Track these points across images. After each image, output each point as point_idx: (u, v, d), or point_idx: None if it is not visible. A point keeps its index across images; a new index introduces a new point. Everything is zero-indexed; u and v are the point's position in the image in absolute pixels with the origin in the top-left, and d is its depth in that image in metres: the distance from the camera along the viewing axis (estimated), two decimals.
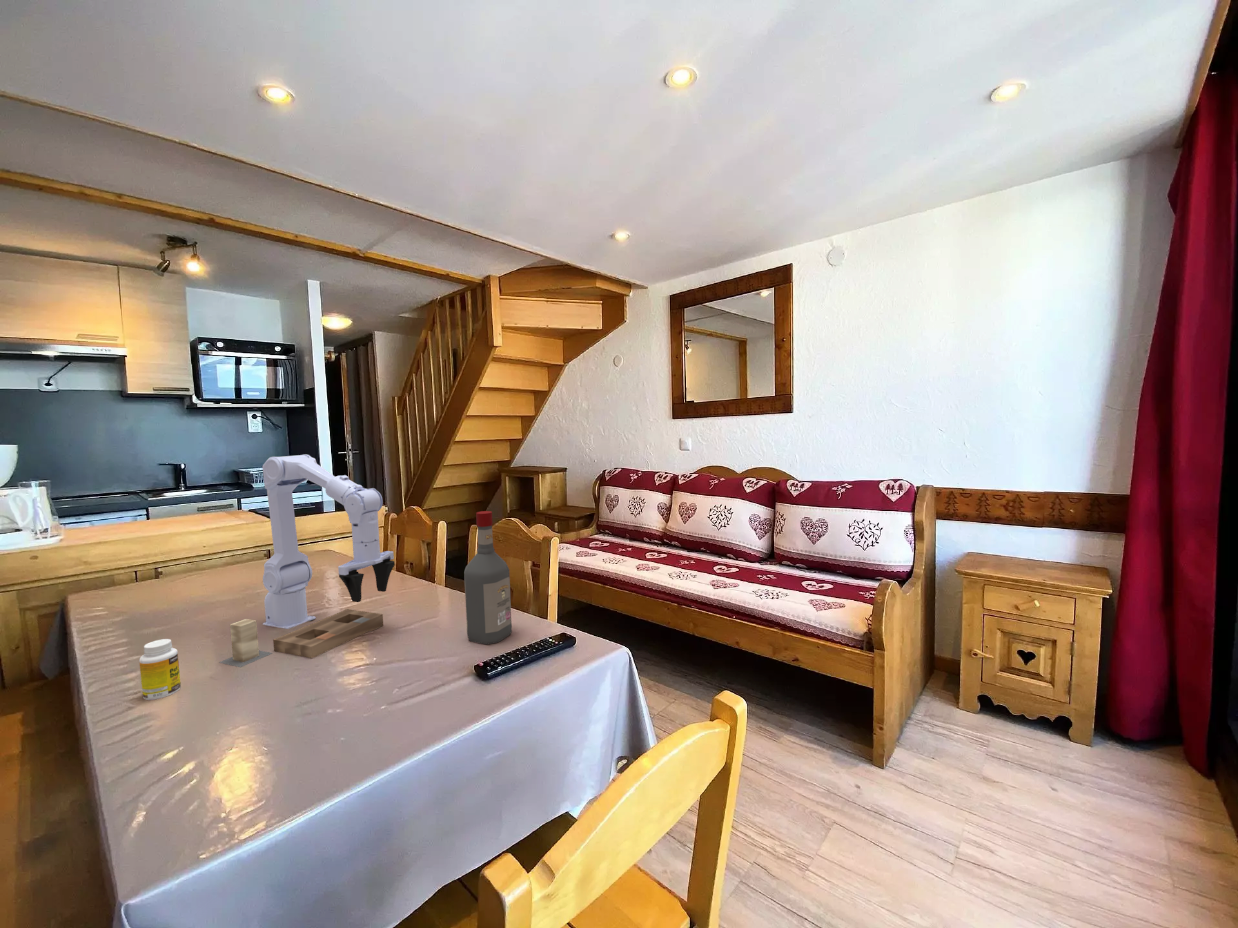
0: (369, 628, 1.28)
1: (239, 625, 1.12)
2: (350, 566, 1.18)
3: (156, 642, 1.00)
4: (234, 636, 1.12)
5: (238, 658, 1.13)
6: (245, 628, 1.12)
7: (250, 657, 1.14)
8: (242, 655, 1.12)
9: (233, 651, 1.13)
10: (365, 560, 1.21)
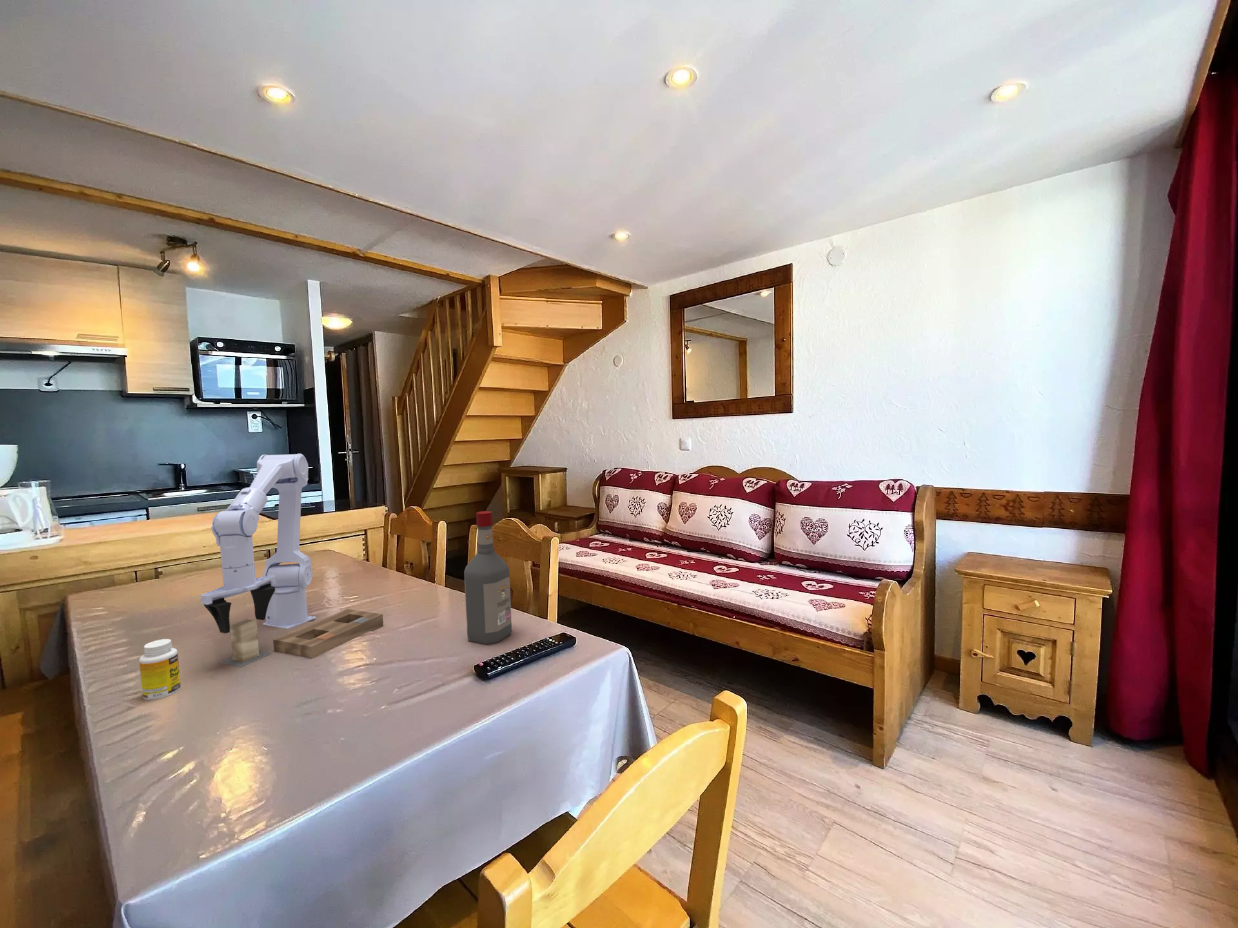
0: (369, 628, 1.28)
1: (239, 625, 1.12)
2: (214, 594, 1.07)
3: (156, 642, 1.00)
4: (234, 636, 1.12)
5: (238, 658, 1.13)
6: (245, 628, 1.12)
7: (250, 657, 1.14)
8: (242, 655, 1.12)
9: (233, 651, 1.13)
10: (234, 587, 1.10)
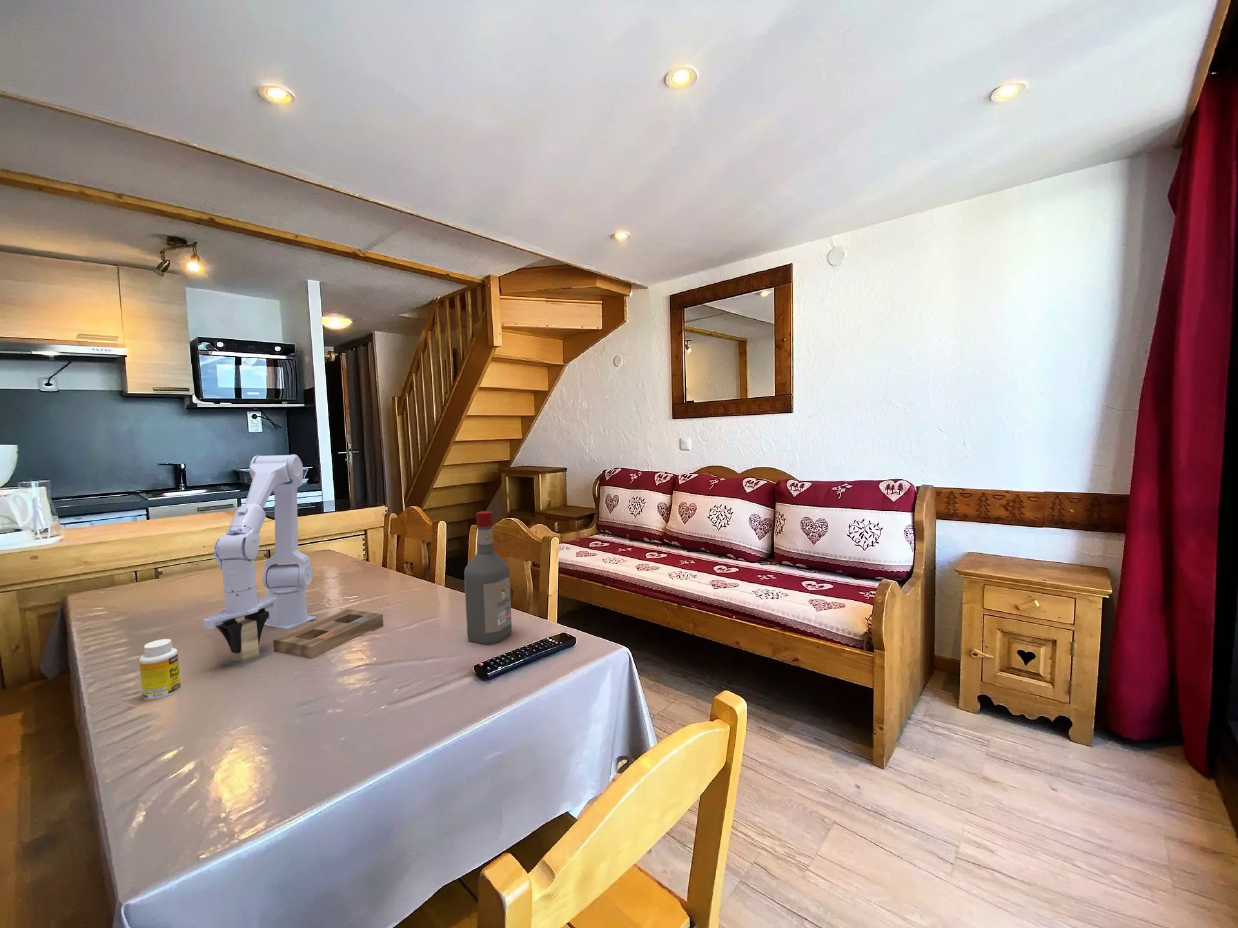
0: (369, 628, 1.28)
1: None
2: (216, 619, 1.08)
3: (156, 642, 1.00)
4: None
5: (238, 658, 1.13)
6: (245, 628, 1.12)
7: (250, 657, 1.14)
8: (242, 655, 1.12)
9: None
10: (237, 611, 1.11)
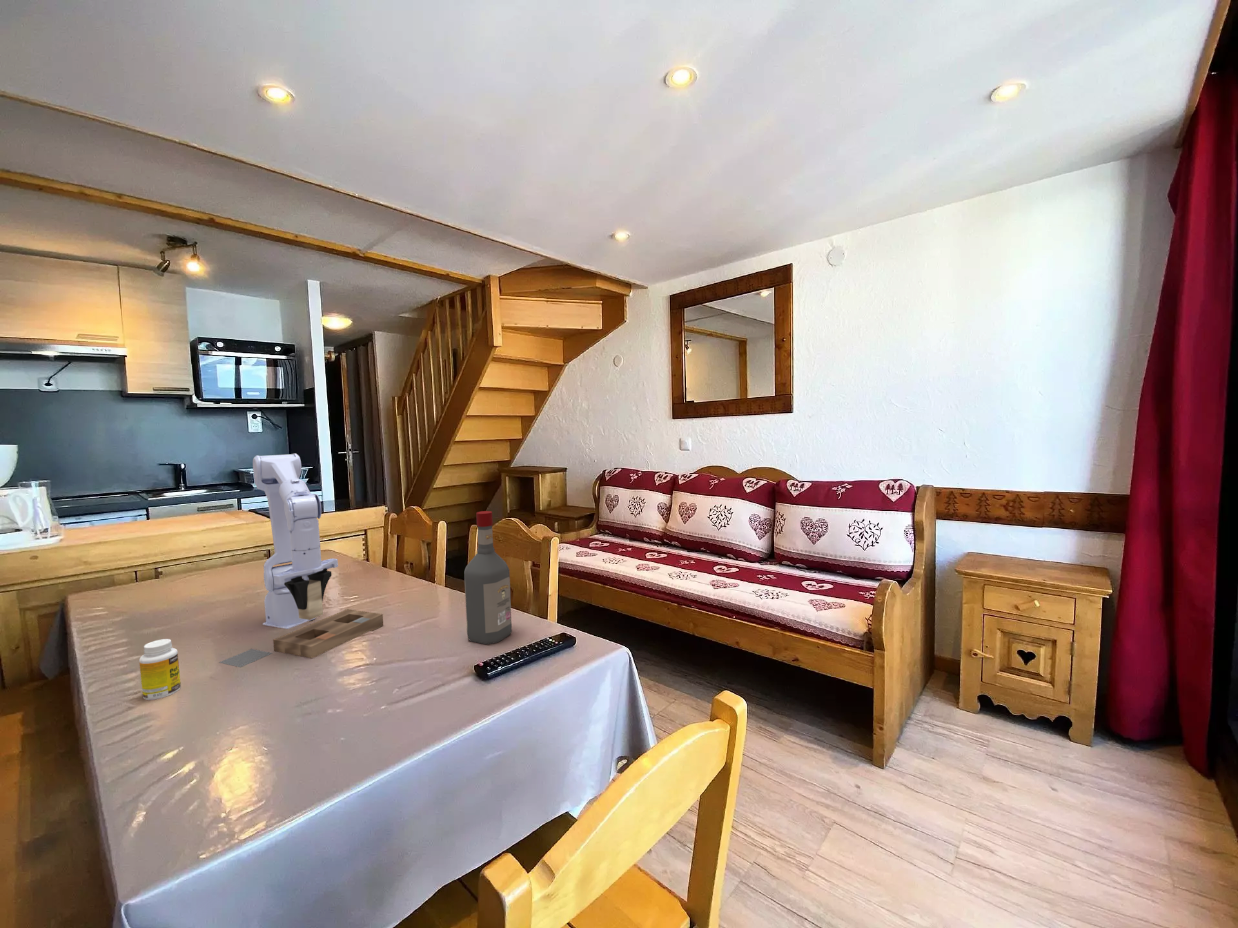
0: (369, 628, 1.28)
1: None
2: (286, 575, 1.13)
3: (156, 642, 1.00)
4: None
5: (304, 616, 1.18)
6: (311, 587, 1.18)
7: (315, 615, 1.19)
8: (308, 613, 1.17)
9: (299, 610, 1.18)
10: (304, 569, 1.16)
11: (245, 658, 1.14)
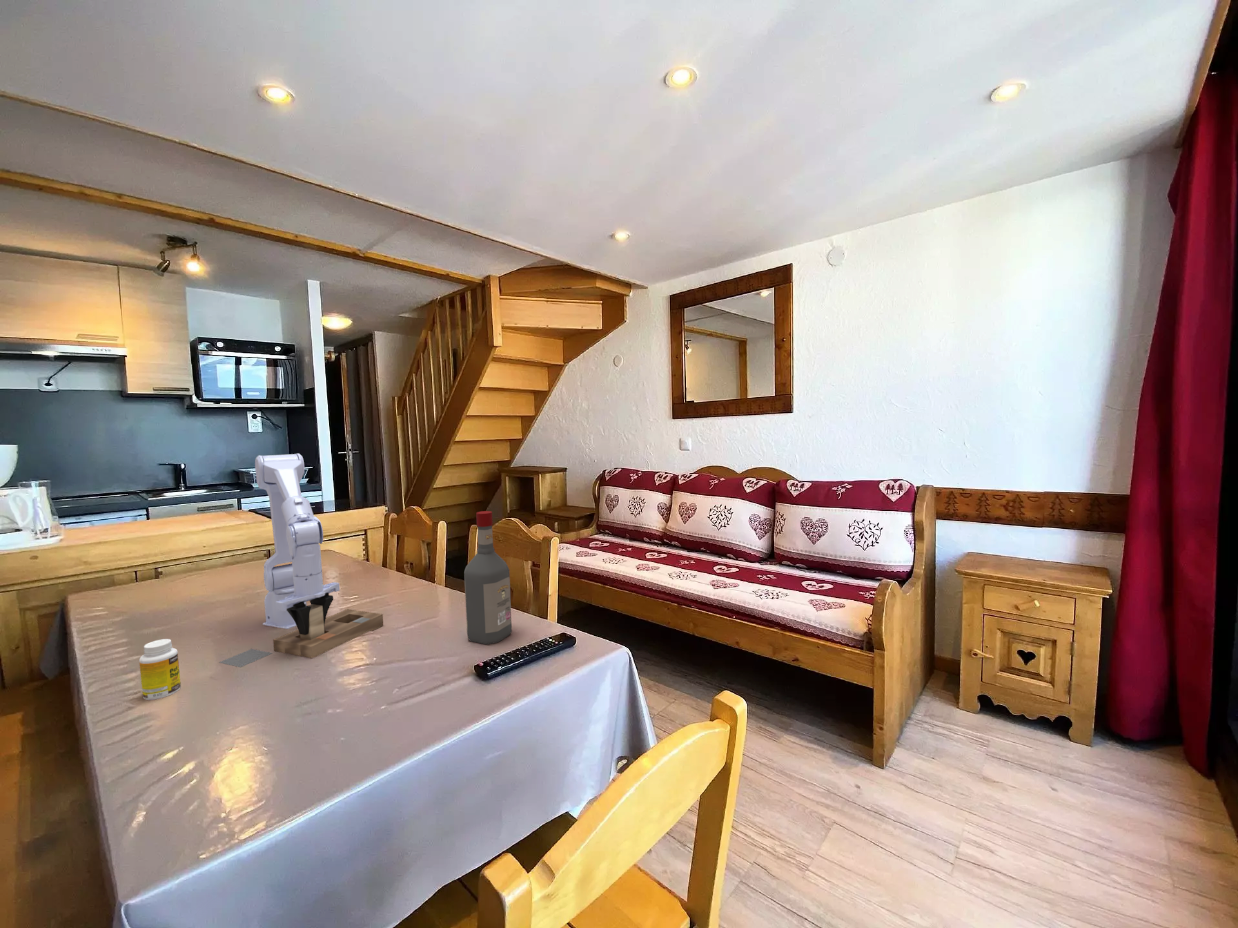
0: (369, 628, 1.28)
1: None
2: (288, 601, 1.13)
3: (156, 642, 1.00)
4: None
5: None
6: (313, 612, 1.18)
7: None
8: (310, 638, 1.18)
9: (301, 634, 1.19)
10: (305, 594, 1.16)
11: (245, 658, 1.14)
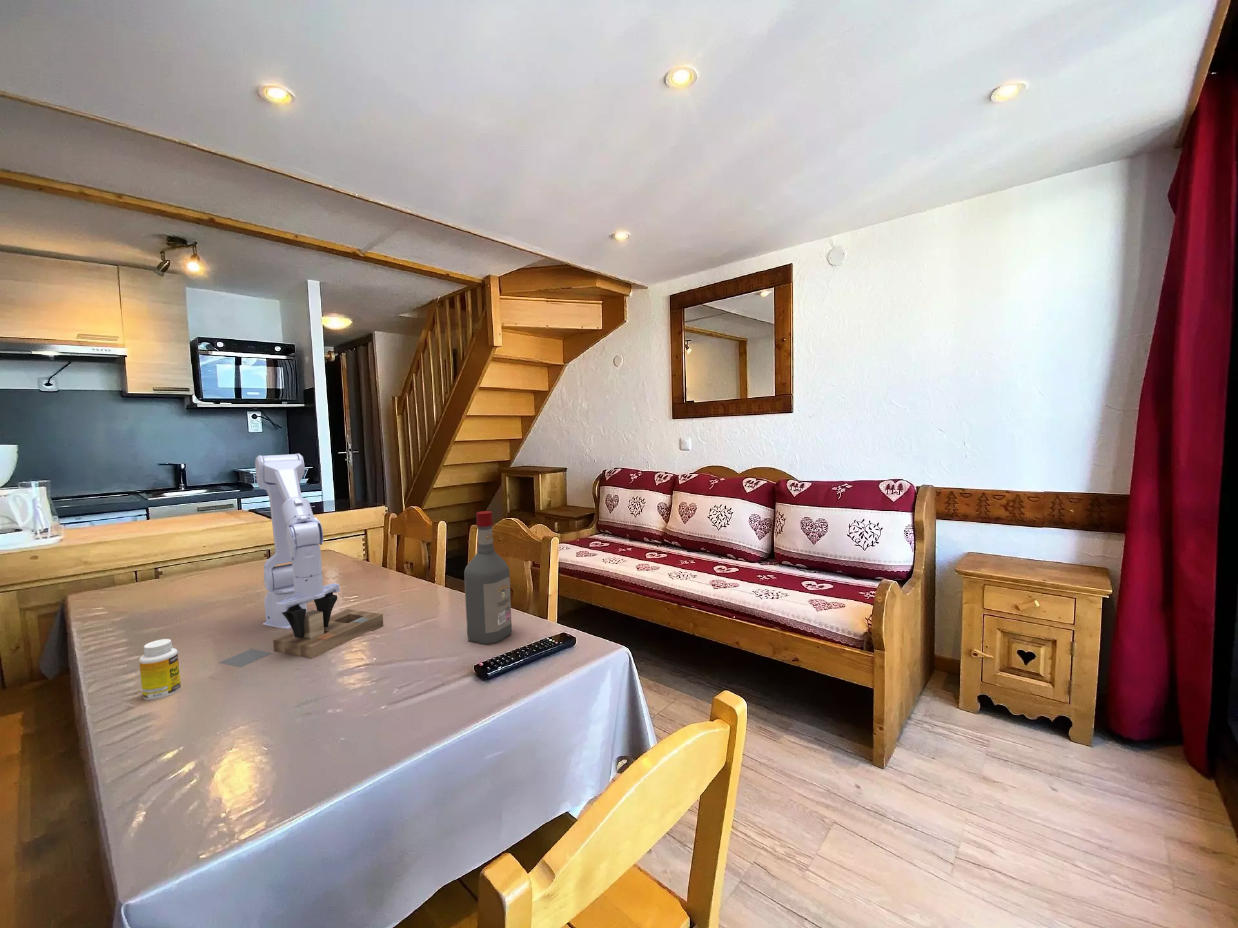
0: (369, 628, 1.28)
1: (307, 616, 1.18)
2: (288, 603, 1.13)
3: (156, 642, 1.00)
4: None
5: None
6: (313, 618, 1.18)
7: None
8: None
9: None
10: (306, 595, 1.16)
11: (245, 658, 1.14)
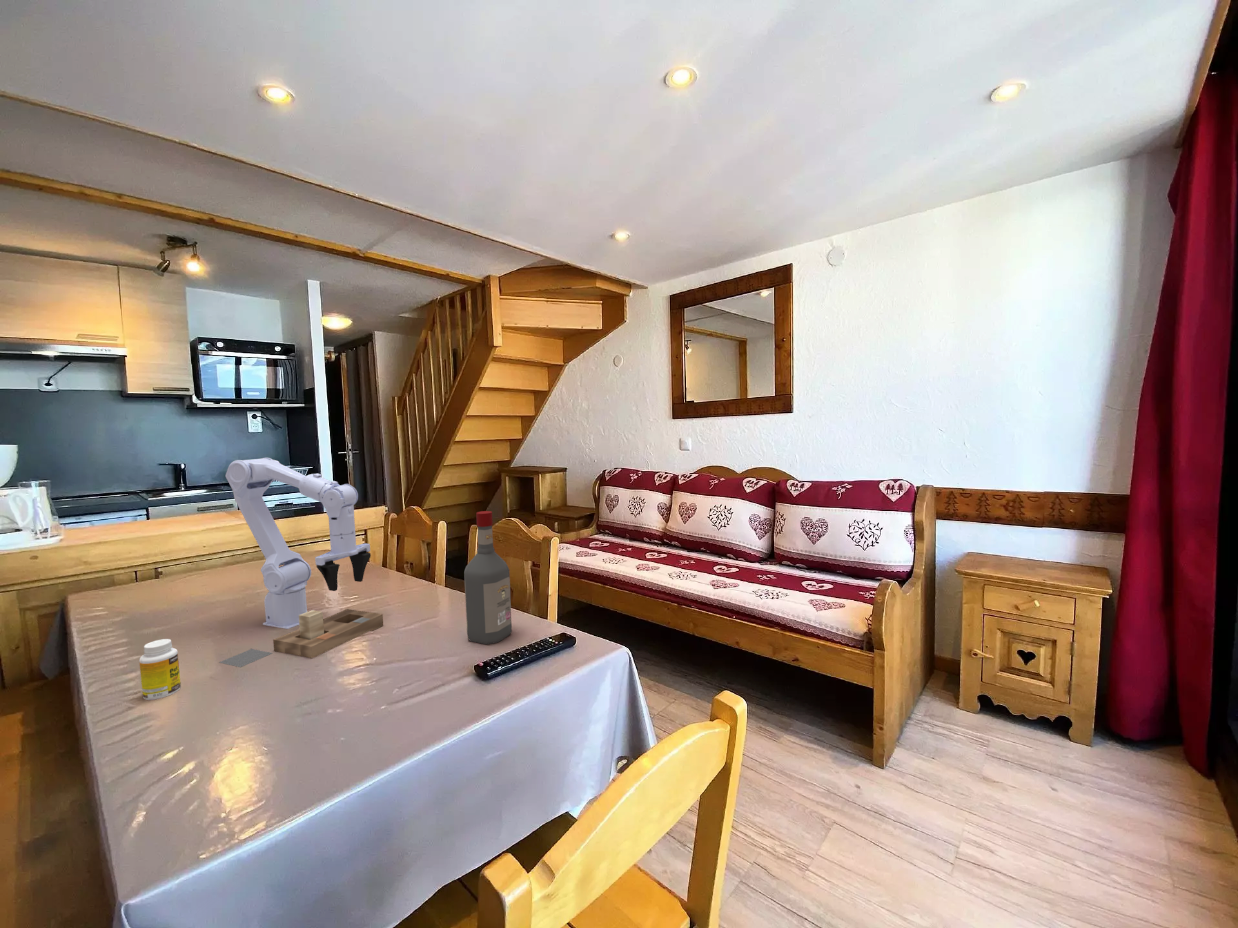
0: (369, 628, 1.28)
1: (307, 616, 1.18)
2: (326, 557, 1.25)
3: (156, 642, 1.00)
4: (302, 626, 1.18)
5: None
6: (313, 618, 1.18)
7: None
8: None
9: None
10: (341, 551, 1.28)
11: (245, 658, 1.14)
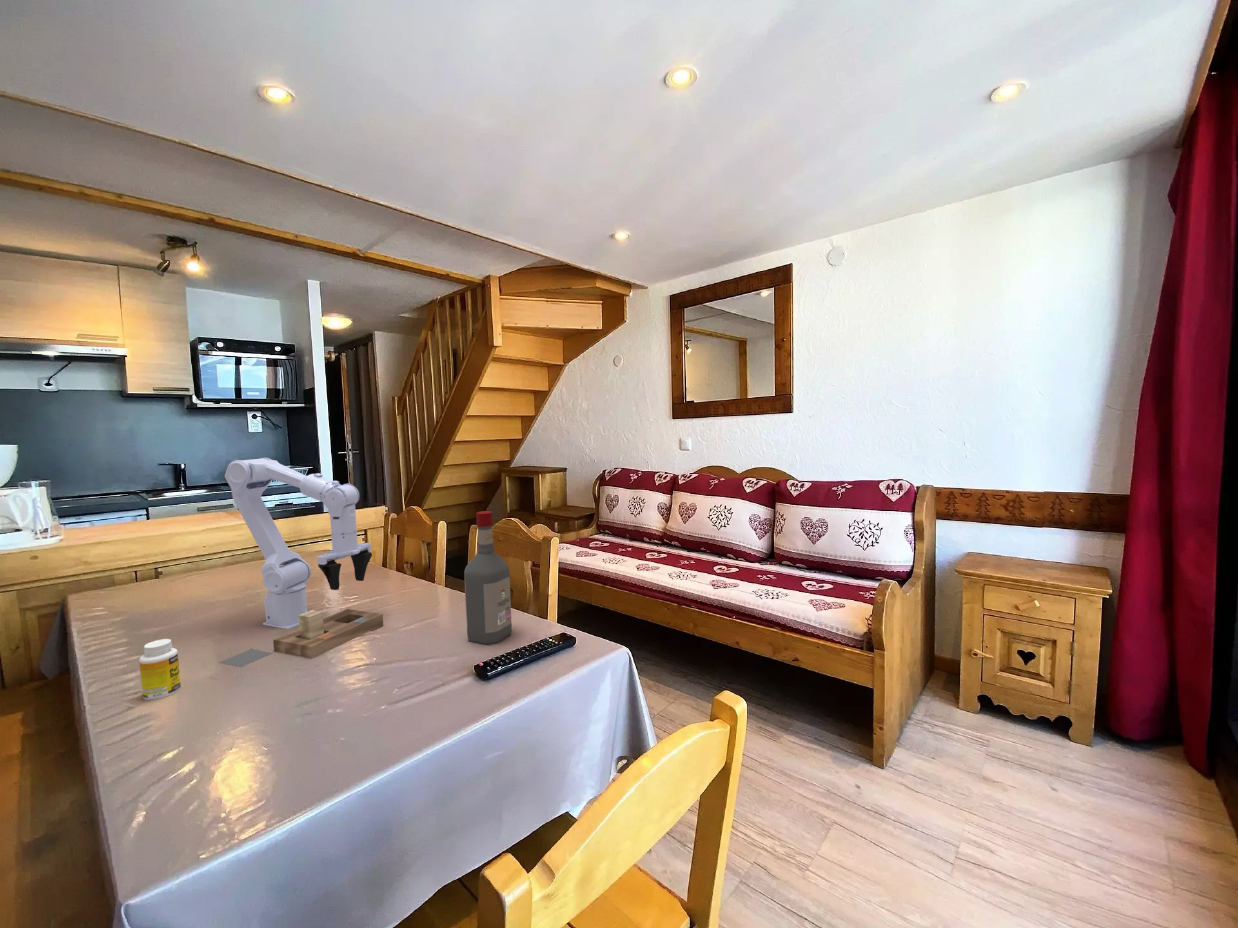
0: (369, 628, 1.28)
1: (307, 616, 1.18)
2: (328, 556, 1.26)
3: (156, 642, 1.00)
4: (302, 626, 1.18)
5: None
6: (313, 618, 1.18)
7: None
8: None
9: None
10: (343, 551, 1.29)
11: (245, 658, 1.14)
